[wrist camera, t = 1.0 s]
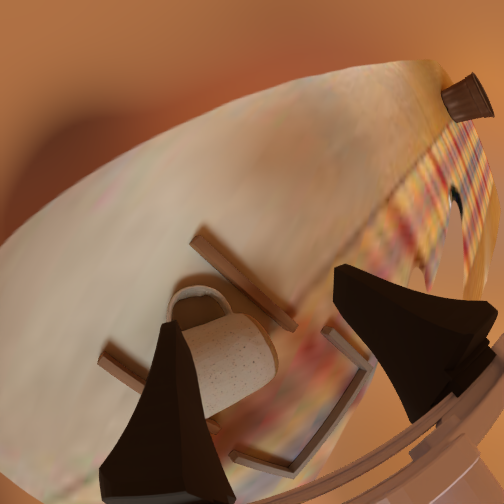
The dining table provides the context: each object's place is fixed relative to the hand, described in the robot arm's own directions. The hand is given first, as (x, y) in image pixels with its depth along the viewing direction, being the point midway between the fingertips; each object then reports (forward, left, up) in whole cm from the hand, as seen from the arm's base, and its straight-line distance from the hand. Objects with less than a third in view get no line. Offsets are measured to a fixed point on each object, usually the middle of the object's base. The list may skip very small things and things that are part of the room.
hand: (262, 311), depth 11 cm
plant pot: (+95, -27, -15) cm, 99 cm away
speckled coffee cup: (-3, -4, -15) cm, 16 cm away
